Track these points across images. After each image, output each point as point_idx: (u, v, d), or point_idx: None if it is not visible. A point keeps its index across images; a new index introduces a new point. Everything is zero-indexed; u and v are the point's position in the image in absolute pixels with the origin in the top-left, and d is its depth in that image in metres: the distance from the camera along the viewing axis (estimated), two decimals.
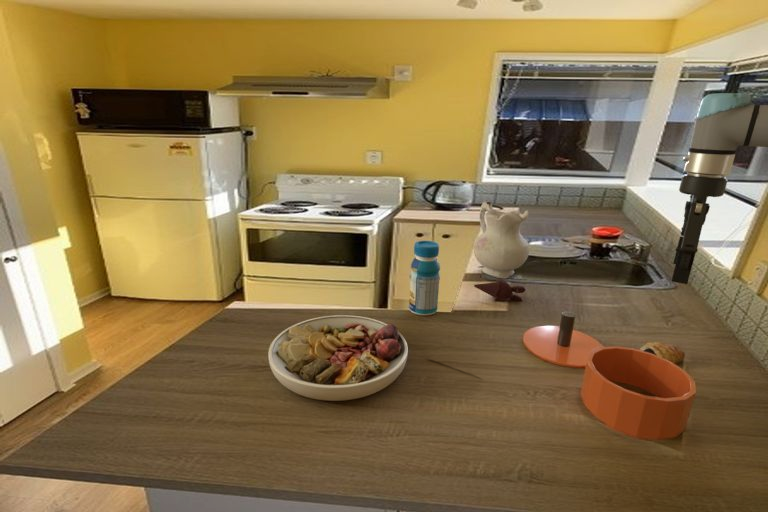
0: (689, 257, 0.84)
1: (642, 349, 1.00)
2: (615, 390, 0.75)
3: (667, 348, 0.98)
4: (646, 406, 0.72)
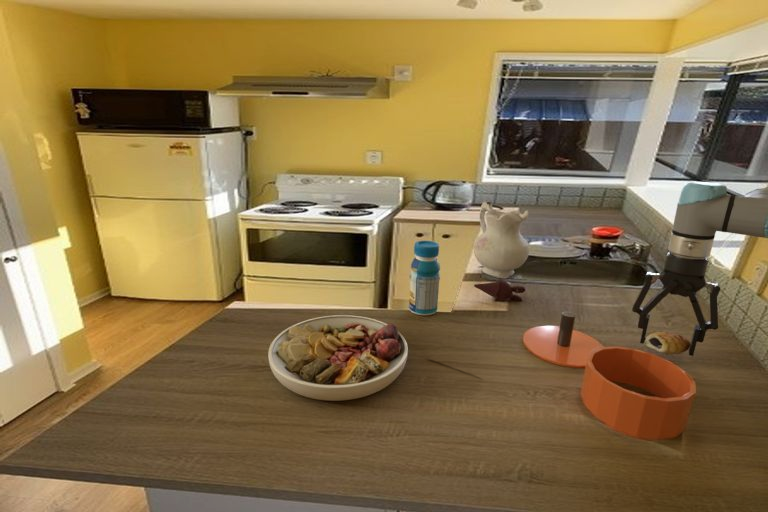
0: None
1: (647, 339, 0.99)
2: (615, 390, 0.75)
3: (672, 337, 0.96)
4: (646, 406, 0.72)
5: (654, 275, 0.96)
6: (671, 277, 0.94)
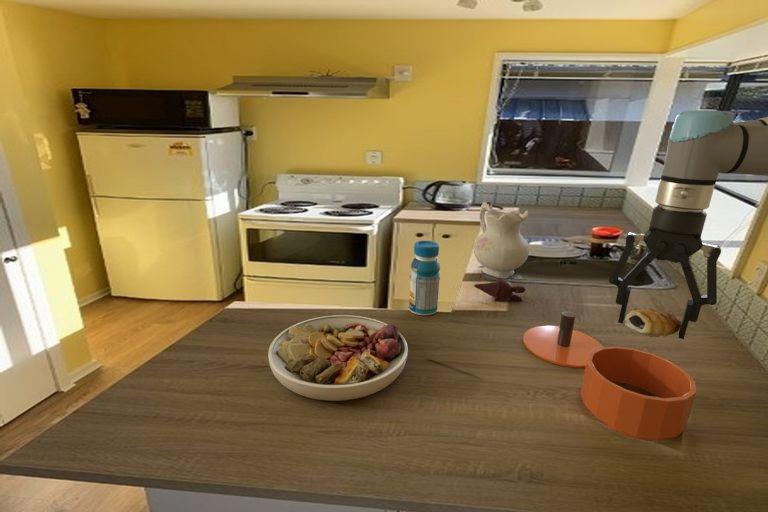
0: None
1: (627, 317, 0.79)
2: (615, 390, 0.75)
3: (658, 315, 0.76)
4: (646, 406, 0.72)
5: (637, 236, 0.75)
6: (658, 237, 0.73)
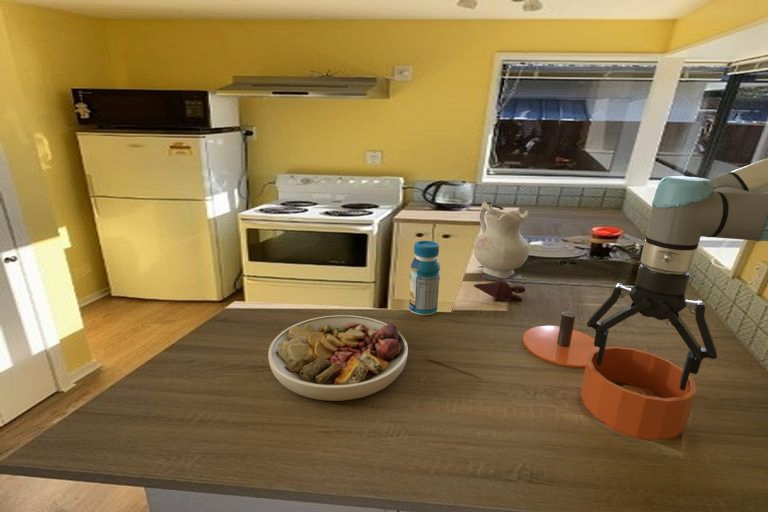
0: None
1: None
2: (615, 390, 0.75)
3: None
4: (646, 406, 0.72)
5: (624, 289, 0.77)
6: (644, 297, 0.75)
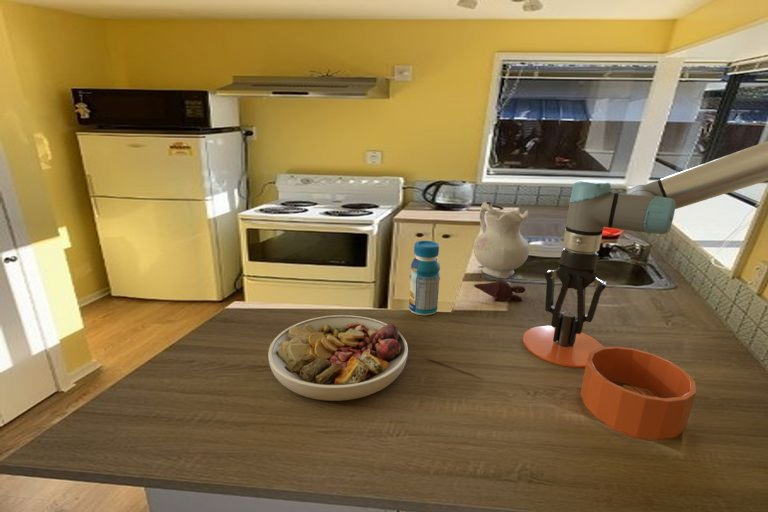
0: None
1: None
2: (615, 390, 0.75)
3: None
4: (646, 406, 0.72)
5: (552, 272, 1.00)
6: (565, 270, 0.97)
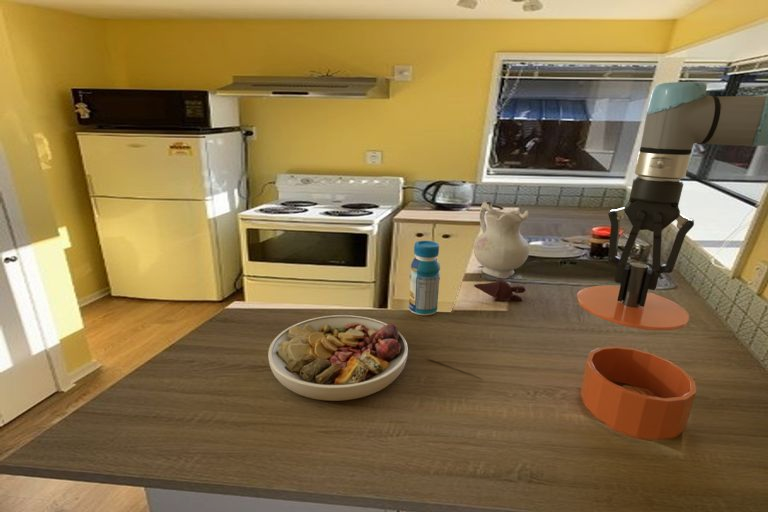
0: None
1: None
2: (615, 390, 0.75)
3: None
4: (646, 406, 0.72)
5: (618, 210, 0.78)
6: (637, 206, 0.76)
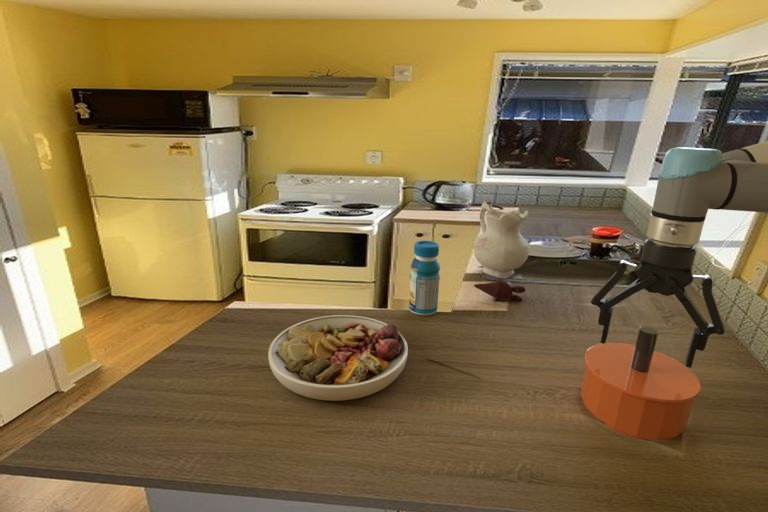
0: None
1: None
2: (615, 390, 0.75)
3: None
4: (646, 406, 0.72)
5: (630, 265, 0.76)
6: (649, 272, 0.74)
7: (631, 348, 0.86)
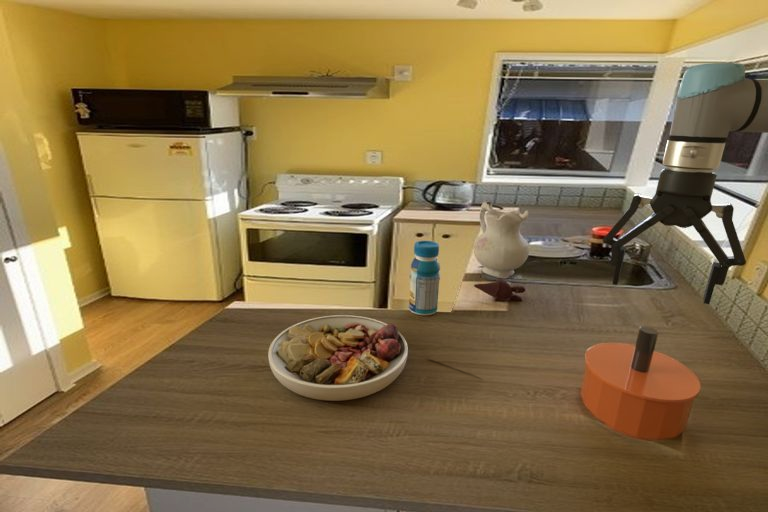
0: None
1: None
2: (615, 390, 0.75)
3: None
4: (646, 406, 0.72)
5: (644, 198, 0.72)
6: (666, 203, 0.70)
7: (631, 348, 0.86)
